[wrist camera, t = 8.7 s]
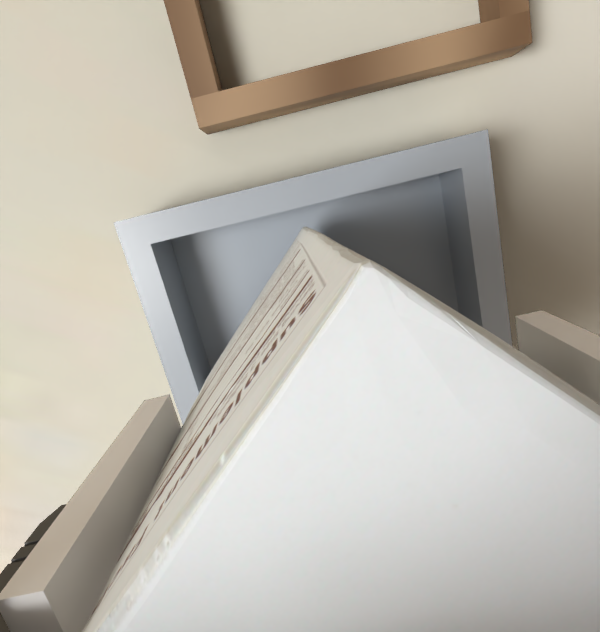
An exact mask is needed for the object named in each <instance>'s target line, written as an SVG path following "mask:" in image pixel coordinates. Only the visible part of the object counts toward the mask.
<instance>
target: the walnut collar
mask: <svg viewBox="0 0 600 632" xmlns="http://www.w3.org/2000/svg"><path fill="white" fill-rule="evenodd" d="M164 3H165V7H166V10H167V14H168V17H169V21H170V25H171V28H172V32H173V35H174V39H175V43H176V46H177V50H178V54H179V57H180V61H181V64H182V68H183V72H184V75H185V79H186V82H187V86H188V90H189V93H190V97H191V100H192V104H193V108H194V111H195V115H196V119H197V122H198V126H199V129H201V130H202V131H203V132H205V133H206V134H211V133H215V132H219V131H223V130H227V129H230V128H234V127H238V126H242V125H246V124H250V123H254V122H258V121H262V120H266V119H269V118H273V117H277V116H281V115H285V114H289V113H293V112H297V111H301V110H305V109H308V108H312V107H316V106H320V105H324V104H328V103H332V102H336V101H340V100H344V99H348V98H351V97H355V96H359V95H363V94H367V93H371V92H375V91H379V90H383V89H387V88H390V87H394V86H398V85H402V84H406V83H410V82H414V81H418V80H422V79H426V78H429V77H433V76H437V75H441V74H445V73H449V72H453V71H457V70H461V69H465V68H468V67H472V66H476V65H480V64H484V63H488V62H492V61H496V60H500V59H504V58H507V57H511V56H513V55H514V54H516V53H517V52H519V51H520V50H522V49H523V48H525V47H526V46H528V45H529V44H531V43H532V34H531V22H530V10H529V0H478V3H479V12H480V21H481V23H479V24H475V25H471V26H467V27H464V28H460V29H456V30H452V31H448V32H445V33H441V34H437V35H433V36H429V37H425V38H422V39H418V40H414V41H410V42H406V43H402V44H399V45H395V46H391V47H387V48H383V49H379V50H376V51H372V52H368V53H364V54H360V55H356V56H353V57H349V58H345V59H341V60H337V61H333V62H330V63H326V64H322V65H318V66H314V67H310V68H307V69H303V70H299V71H295V72H291V73H287V74H284V75H280V76H276V77H272V78H268V79H265V80H261V81H257V82H253V83H249V84H245V85H242V86H238V87H234V88H230V89H226V90H222V88H221V84H220V80H219V76H218V72H217V69H216V65H215V61H214V57H213V53H212V49H211V45H210V41H209V38H208V34H207V30H206V26H205V22H204V18H203V14H202V10H201V7H200V3H199V0H164Z"/></svg>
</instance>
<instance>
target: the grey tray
mask: <svg viewBox="0 0 600 632" xmlns="http://www.w3.org/2000/svg"><path fill="white" fill-rule="evenodd" d="M114 225H115V228H116V231H117V234H118V237H119V240H120V243H121V246H122V249H123V251H124V254H125V257H126V260H127V263H128V266H129V269H130V272H131V275H132V278H133V281H134V283H135V286H136V289H137V292H138V295H139V298H140V301H141V304H142V307H143V310H144V313H145V315H146V318H147V321H148V324H149V327H150V330H151V333H152V336H153V339H154V342H155V345H156V348H157V350H158V353H159V356H160V359H161V362H162V365H163V368H164V371H165V374H166V377H167V380H168V382H169V385H170V388H171V391H172V394H173V397H174V400H175V403H176V406H177V409H178V412H179V414H180V417H181V420H182V423H183V424H184V422H185V420H186V418H187V416H188V414H189V412H190V409H191V407H192V406H193V404H194V402H195V400H196V398H197V396H198V395H199V393H200V391H201V389H202V387H203V385H204V383H205V381H206V379H207V377H208V375H209V373H210V372H211V370H212V369H213V367H214V365H215V364H216V362H217V361H218V359H219V357H220V356H221V354H222V353H223V351H224V350H225V348H226V346H227V345H228V343H229V341H230V340H231V338H232V337H233V335H234V333H235V332H236V330H237V329H238V327H239V325H240V324H241V322H242V321H243V319H244V318H245V316H246V315H247V313H248V312H249V310H250V308H251V307H252V305H253V304H254V302H255V301H256V299H257V298H258V296H259V294H260V293H261V291H262V290H263V288H264V287H265V285H266V284H267V282H268V281H269V279H270V277H271V276H272V274H273V273H274V271H275V270H276V268H277V267H278V265H279V264H280V262H281V260H282V259H283V257H284V256H285V254H286V253H287V251H288V250H289V248H290V247H291V245H292V243H293V242H294V240H295V239H296V237H297V235H298V234H299V232H300V231H301V229H302V228H303V227H308V228H310V229H313V230H315V231H317V232H320V233H322V234H324V235H326V236H327V237H329V238H331V239H332V240H334V241H336V242H337V243H339V244H341V245H343V246H345V247H346V248H348V249H350V250H352V251H354V252H356V253H358V254H360V255H362V256H364V257H366V258H367V259H370V260H372V261H374V262H376V263H377V264H379V265H381V266H383V267H385V268H387V269H388V270H390V271H392V272H393V273H395V274H396V275H398V276H400V277H401V278H403V279H405V280H406V281H408V282H410V283H411V284H413V285H415V286H416V287H418V288H420V289H421V290H423V291H425V292H426V293H428V294H429V295H431V296H433V297H434V298H436V299H438V300H439V301H441V302H442V303H444V304H446V305H447V306H449V307H450V308H452V309H454V310H455V311H457V312H458V313H460V314H462V315H463V316H465V317H467V318H468V319H470V320H471V321H473V322H475V323H476V324H478V325H479V326H481V327H483V328H484V329H486V330H487V331H489V332H491V333H492V334H494V335H495V336H497V337H498V338H500V339H501V340H503V341H505V342H506V343H508V344H509V345H511V346H512V338H511V329H510V320H509V312H508V303H507V294H506V285H505V276H504V268H503V259H502V250H501V241H500V232H499V224H498V215H497V206H496V197H495V189H494V180H493V171H492V162H491V153H490V145H489V136H488V129H487V130H483V131H479V132H475V133H471V134H467V135H463V136H459V137H455V138H451V139H447V140H443V141H439V142H435V143H431V144H427V145H423V146H419V147H415V148H411V149H407V150H403V151H399V152H395V153H391V154H387V155H383V156H379V157H375V158H371V159H367V160H363V161H359V162H355V163H351V164H347V165H343V166H339V167H335V168H331V169H327V170H323V171H318V172H314V173H310V174H306V175H302V176H298V177H294V178H290V179H286V180H282V181H278V182H274V183H270V184H266V185H262V186H258V187H254V188H250V189H246V190H242V191H238V192H234V193H230V194H226V195H222V196H218V197H214V198H210V199H206V200H202V201H198V202H194V203H190V204H186V205H182V206H178V207H174V208H170V209H166V210H162V211H158V212H154V213H150V214H145V215H141V216H137V217H133V218H129V219H125V220H121V221H117V222H114Z"/></svg>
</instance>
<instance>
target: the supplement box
mask: <svg viewBox="0 0 600 632" xmlns="http://www.w3.org/2000/svg"><path fill="white" fill-rule="evenodd" d="M82 632H600V405H599V404H598V403H596V402H595V401H594V400H592V399H591V398H589V397H588V396H586V395H585V394H583V393H582V392H580V391H579V390H577V389H576V388H574V387H573V386H571V385H570V384H568V383H567V382H565V381H564V380H562V379H561V378H559V377H558V376H556V375H555V374H553V373H552V372H550V371H549V370H547V369H546V368H544V367H543V366H541V365H540V364H538V363H537V362H535V361H534V360H532V359H531V358H529V357H528V356H526V355H525V354H523V353H522V352H520V351H519V350H517V349H515V348H514V347H512V346H511V345H509V344H508V343H506V342H505V341H503V340H501V339H500V338H498V337H497V336H495V335H494V334H492V333H491V332H489V331H487V330H486V329H484V328H483V327H481V326H479V325H478V324H476V323H475V322H473V321H471V320H470V319H468V318H467V317H465V316H463V315H462V314H460V313H458V312H457V311H455V310H454V309H452V308H450V307H449V306H447V305H446V304H444V303H442V302H441V301H439V300H438V299H436V298H434V297H433V296H431V295H429V294H428V293H426V292H425V291H423V290H421V289H420V288H418V287H416V286H415V285H413V284H411V283H410V282H408V281H406V280H405V279H403V278H401V277H400V276H398V275H396V274H395V273H393V272H392V271H390V270H388V269H387V268H385V267H383V266H381V265H379V264H377V263H376V262H374V261H372V260H370V259H367V258H366V257H364V256H362V255H360V254H358V253H356V252H354V251H352V250H350V249H348V248H346V247H345V246H343V245H341V244H339V243H337V242H336V241H334V240H332V239H331V238H329V237H327V236H326V235H324V234H322V233H320V232H317V231H315V230H313V229H310V228H308V227H303V228H302V229H301V231H300V232H299V234H298V235H297V237H296V239H295V240H294V242H293V243H292V245H291V247H290V248H289V250H288V251H287V253H286V254H285V256H284V257H283V259H282V260H281V262H280V264H279V265H278V267H277V268H276V270H275V271H274V273H273V274H272V276H271V277H270V279H269V281H268V282H267V284H266V285H265V287H264V288H263V290H262V291H261V293H260V294H259V296H258V298H257V299H256V301H255V302H254V304H253V305H252V307H251V308H250V310H249V312H248V313H247V315H246V316H245V318H244V319H243V321H242V322H241V324H240V325H239V327H238V329H237V330H236V332H235V333H234V335H233V337H232V338H231V340H230V341H229V343H228V345H227V346H226V348H225V350H224V351H223V353H222V354H221V356H220V357H219V359H218V361H217V362H216V364H215V365H214V367H213V369H212V370H211V372H210V373H209V375H208V377H207V379H206V381H205V383H204V385H203V387H202V389H201V391H200V393H199V395H198V396H197V398H196V400H195V402H194V404H193V406H192V407H191V409H190V412H189V414H188V416H187V418H186V420H185V422H184V424H183V426H182V428H181V430H180V432H179V434H178V436H177V438H176V440H175V442H174V444H173V447H172V449H171V451H170V453H169V455H168V457H167V459H166V461H165V463H164V465H163V467H162V469H161V471H160V474H159V476H158V478H157V480H156V482H155V484H154V486H153V488H152V490H151V492H150V495H149V497H148V499H147V501H146V503H145V505H144V507H143V509H142V511H141V513H140V515H139V517H138V519H137V521H136V523H135V525H134V527H133V529H132V531H131V533H130V535H129V537H128V539H127V541H126V543H125V545H124V548H123V550H122V552H121V554H120V556H119V558H118V560H117V562H116V564H115V566H114V568H113V570H112V572H111V574H110V576H109V578H108V580H107V582H106V584H105V586H104V588H103V590H102V593H101V595H100V597H99V599H98V601H97V603H96V605H95V606H94V608H93V610H92V612H91V614H90V616H89V618H88V620H87V622H86V624H85V626H84V628H83V630H82Z"/></svg>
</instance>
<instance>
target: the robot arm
mask: <svg viewBox="0 0 600 632" xmlns="http://www.w3.org/2000/svg"><path fill="white" fill-rule="evenodd" d="M515 321H516V330H517V339H518V348H519V351H520V352H522V353H523V354H525V355H526V356H528V357H529V358H531V359H532V360H534V361H535V362H537V363H538V364H540V365H541V366H543V367H544V368H546V369H547V370H549V371H550V372H552V373H553V374H555V375H556V376H558V377H559V378H561V379H562V380H564V381H565V382H567V383H568V384H570V385H571V386H573V387H574V388H576V389H577V390H579V391H580V392H582V393H583V394H585V395H586V396H588V397H589V398H591V399H592V400H594V401H595V402H596V403H598V404H599V405H600V336H599V335H597V334H595V333H592V332H590V331H588V330H586V329H583V328H581V327H579V326H577V325H574V324H572V323H570V322H568V321H565V320H563V319H561V318H559V317H556V316H554V315H552V314H550V313H547V312H545V311H543V310H540V311H536V312H531V313H527V314H523V315H518V316H515ZM180 430H181V426H180V423H179V421H178V418H177V415H176V412H175V409H174V406H173V403H172V400H171V397H170V394H169V395H165V396H161V397H156V398H152V399H147V400H144V402H143V403H142V404H141V406H140V407H139V408H138V410H137V411H136V412H135V414H134V415H133V416H132V418H131V419H130V420H129V422H128V423H127V424H126V426H125V427H124V428H123V430H122V431H121V432H120V434H119V435H118V436H117V438H116V439H115V440H114V442H113V443H112V444H111V446H110V447H109V448H108V450H107V451H106V452H105V454H104V455H103V456H102V458H101V459H100V460H99V462H98V463H97V465H96V466H95V467H94V469H93V470H92V471H91V473H90V474H89V475H88V477H87V478H86V479H85V481H84V482H83V483H82V485H81V486H80V487H79V489H78V490H77V491H76V493H75V494H74V495H73V497H72V498H71V499H70V501H69V502H68V503H67V504H65V505H61V506H60V507H59V508H58V509H57V510H55V511H54V512H53V513H52V514H51V515H50V516H48V517H47V518H46V519H45V520H44V521H43V522H41V523H40V524H39V526H38V527H37V528H36V529H35V531H34V532H33V533H32V534H31V536H30V537H29V538H28V539H27V541H26V542H25V546H24V547H21V548H20V550H19V551H18V552H17V553H16V555H15V556H14V557H13V559H12V563H11V564H8V565H7V566H6V567H5V569H4V570H3V571H2V573H1V574H0V632H82V630H83V628H84V626H85V624H86V622H87V620H88V618H89V616H90V614H91V612H92V610H93V608H94V606H95V605H96V603H97V601H98V599H99V597H100V595H101V593H102V590H103V588H104V586H105V584H106V582H107V580H108V578H109V576H110V574H111V572H112V570H113V568H114V566H115V564H116V562H117V560H118V558H119V556H120V554H121V552H122V550H123V548H124V545H125V543H126V541H127V539H128V537H129V535H130V533H131V531H132V529H133V527H134V525H135V523H136V521H137V519H138V517H139V515H140V513H141V511H142V509H143V507H144V505H145V503H146V501H147V499H148V497H149V495H150V492H151V490H152V488H153V486H154V484H155V482H156V480H157V478H158V476H159V474H160V471H161V469H162V467H163V465H164V463H165V461H166V459H167V457H168V455H169V453H170V451H171V449H172V447H173V444H174V442H175V440H176V438H177V436H178V434H179V432H180Z"/></svg>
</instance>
